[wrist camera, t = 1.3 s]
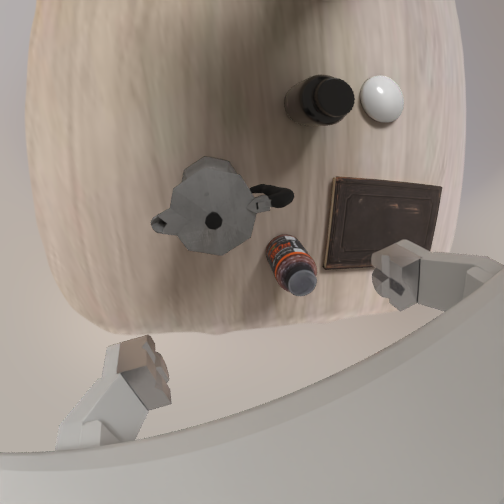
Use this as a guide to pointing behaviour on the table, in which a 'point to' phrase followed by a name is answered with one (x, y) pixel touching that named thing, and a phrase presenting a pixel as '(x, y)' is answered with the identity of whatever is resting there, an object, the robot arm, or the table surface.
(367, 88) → the white glossy disc
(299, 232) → the table surface
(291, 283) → the supplement bottle
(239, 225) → the coffeepot
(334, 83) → the supplement bottle
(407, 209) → the hardcover book
